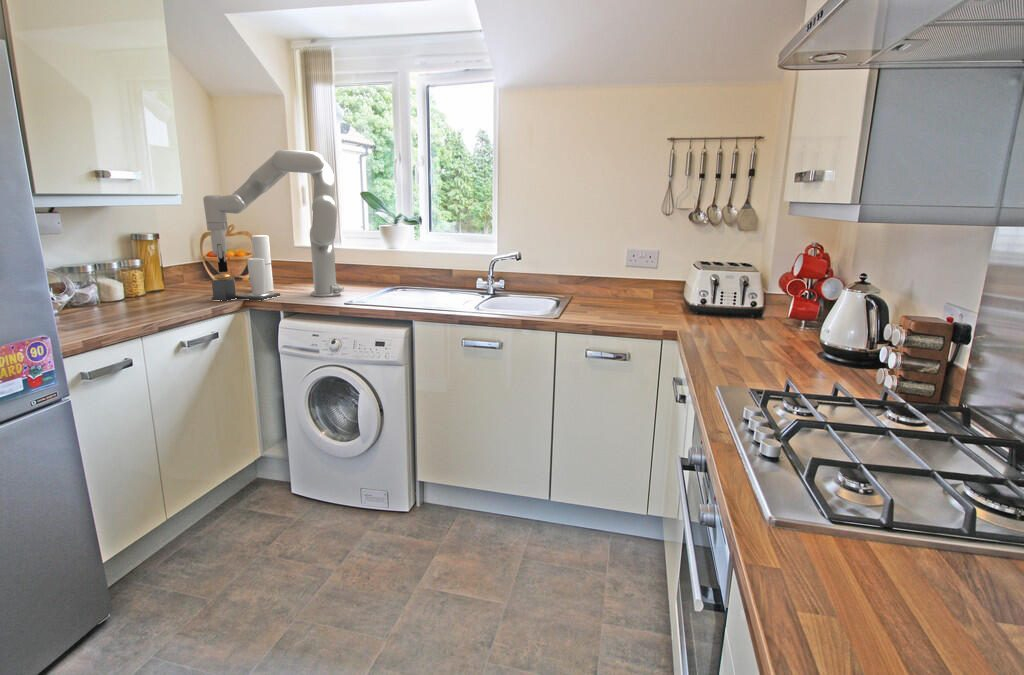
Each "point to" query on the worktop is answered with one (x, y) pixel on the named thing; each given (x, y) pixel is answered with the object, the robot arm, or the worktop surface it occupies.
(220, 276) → the plunger
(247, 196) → the robot arm
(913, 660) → the worktop surface
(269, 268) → the cylindrical container
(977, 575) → the worktop surface
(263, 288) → the drinking glass
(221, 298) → the press base
